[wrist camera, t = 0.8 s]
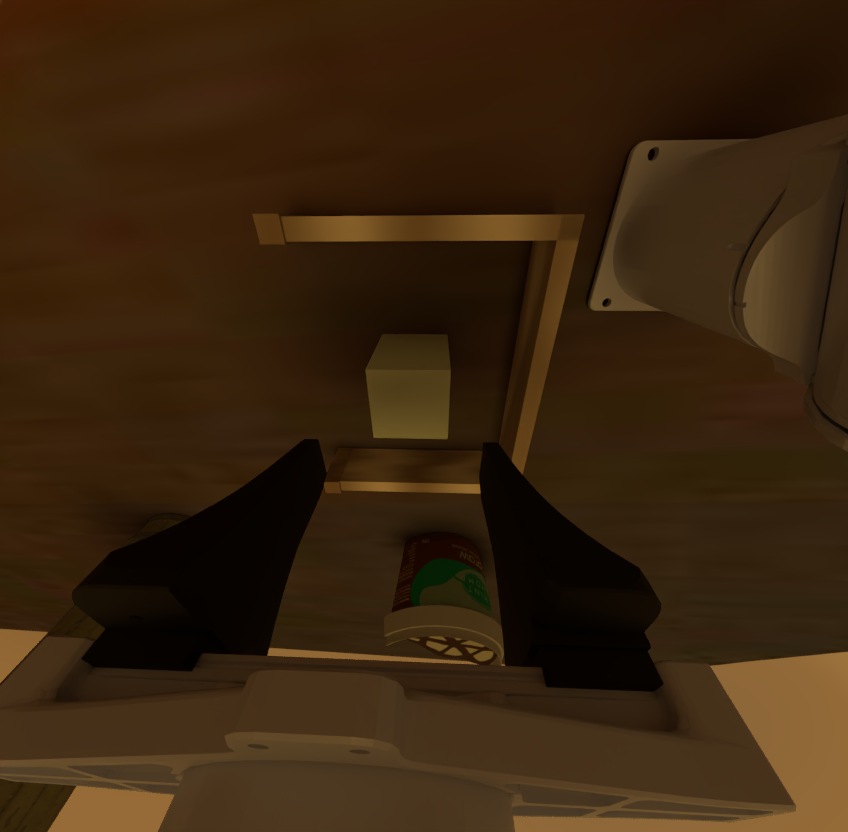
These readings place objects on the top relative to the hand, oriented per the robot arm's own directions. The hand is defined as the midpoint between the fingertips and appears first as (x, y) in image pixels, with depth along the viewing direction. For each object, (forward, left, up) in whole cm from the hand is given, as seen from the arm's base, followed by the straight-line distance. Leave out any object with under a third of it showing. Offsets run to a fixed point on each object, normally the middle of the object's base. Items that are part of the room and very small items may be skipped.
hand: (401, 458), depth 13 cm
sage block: (0, 0, -10) cm, 10 cm away
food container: (-4, +22, -11) cm, 25 cm away
